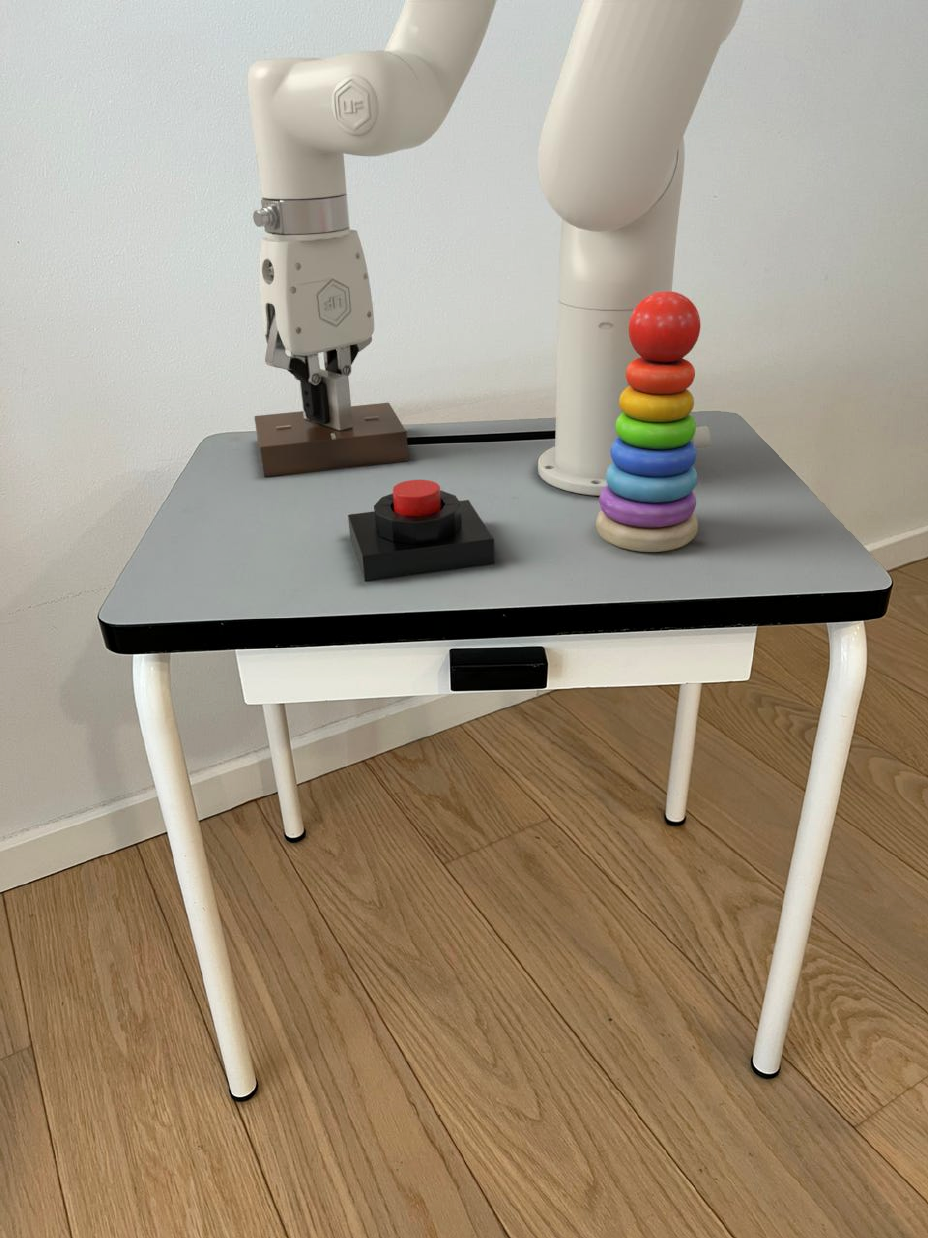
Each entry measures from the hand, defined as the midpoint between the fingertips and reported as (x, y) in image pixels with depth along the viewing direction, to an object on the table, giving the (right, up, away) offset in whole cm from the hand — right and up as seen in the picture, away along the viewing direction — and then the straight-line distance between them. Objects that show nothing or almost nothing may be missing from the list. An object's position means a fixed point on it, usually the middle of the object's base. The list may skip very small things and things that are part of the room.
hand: (327, 417), depth 94 cm
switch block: (+10, -15, -19) cm, 26 cm away
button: (+10, -12, -21) cm, 26 cm away
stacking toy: (+28, -14, -18) cm, 36 cm away
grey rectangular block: (0, 0, 0) cm, 1 cm away
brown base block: (0, -3, +2) cm, 4 cm away
